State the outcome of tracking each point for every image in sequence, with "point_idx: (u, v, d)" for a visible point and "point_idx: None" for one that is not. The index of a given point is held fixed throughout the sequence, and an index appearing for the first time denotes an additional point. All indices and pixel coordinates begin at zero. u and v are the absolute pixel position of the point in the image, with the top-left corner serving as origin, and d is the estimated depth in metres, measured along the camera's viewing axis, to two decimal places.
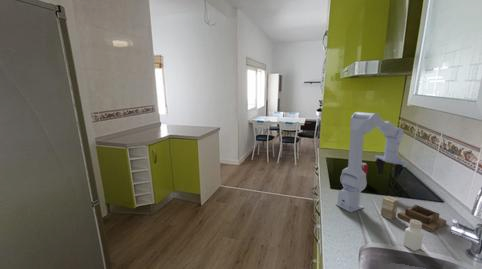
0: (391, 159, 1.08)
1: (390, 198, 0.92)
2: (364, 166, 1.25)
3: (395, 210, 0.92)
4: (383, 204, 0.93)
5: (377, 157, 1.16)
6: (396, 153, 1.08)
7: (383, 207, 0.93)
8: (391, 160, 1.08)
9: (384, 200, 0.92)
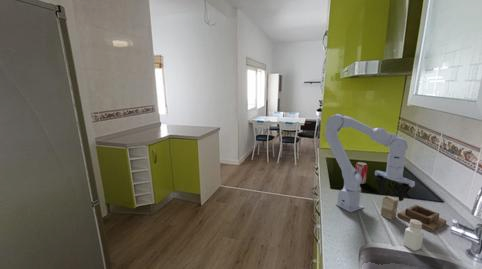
0: (395, 177, 0.88)
1: (390, 198, 0.93)
2: (364, 166, 1.25)
3: (395, 210, 0.92)
4: (383, 204, 0.93)
5: (378, 173, 0.95)
6: (401, 169, 0.87)
7: (383, 207, 0.93)
8: (395, 178, 0.88)
9: (384, 200, 0.92)
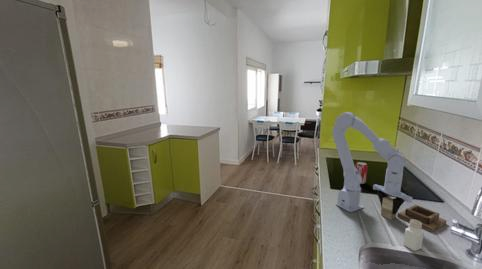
0: (393, 193, 0.89)
1: (390, 198, 0.92)
2: (364, 166, 1.25)
3: None
4: (383, 204, 0.93)
5: (376, 187, 0.96)
6: (399, 185, 0.88)
7: (383, 207, 0.93)
8: (393, 193, 0.89)
9: (384, 200, 0.92)
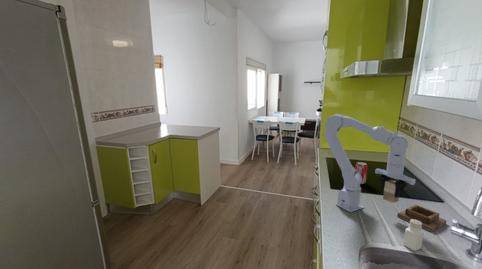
0: (395, 175, 0.87)
1: (392, 181, 0.91)
2: (364, 166, 1.25)
3: None
4: (385, 188, 0.92)
5: (378, 171, 0.95)
6: (401, 167, 0.87)
7: (386, 191, 0.92)
8: (395, 176, 0.87)
9: (386, 183, 0.91)
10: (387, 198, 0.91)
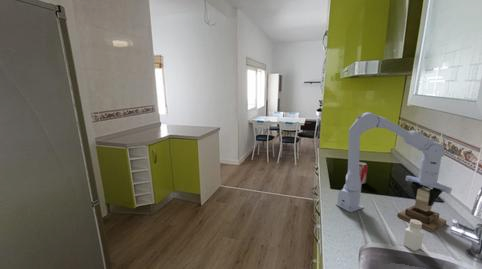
0: (430, 183, 0.85)
1: (425, 189, 0.89)
2: (364, 166, 1.25)
3: None
4: (418, 196, 0.89)
5: (409, 178, 0.92)
6: (436, 175, 0.84)
7: (418, 199, 0.89)
8: (430, 184, 0.85)
9: (419, 191, 0.89)
10: (420, 206, 0.89)
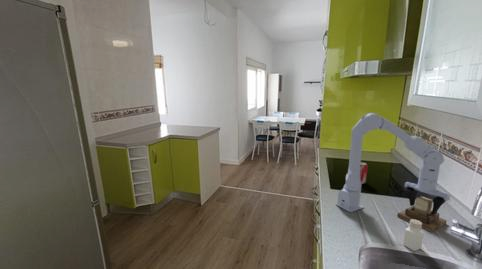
0: (428, 190, 0.85)
1: (424, 198, 0.89)
2: (364, 166, 1.25)
3: (429, 211, 0.88)
4: (416, 204, 0.90)
5: (408, 185, 0.93)
6: (435, 182, 0.85)
7: (417, 208, 0.90)
8: (428, 191, 0.85)
9: (418, 200, 0.89)
10: None
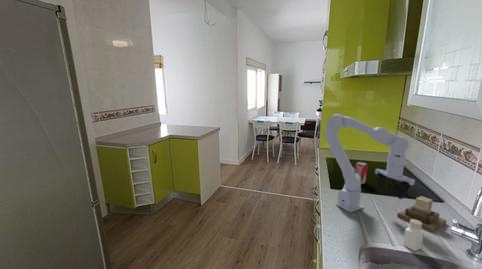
0: (395, 175, 0.89)
1: (424, 198, 0.89)
2: (364, 166, 1.25)
3: (429, 211, 0.88)
4: (416, 204, 0.90)
5: (378, 171, 0.96)
6: (401, 168, 0.88)
7: (417, 208, 0.90)
8: (395, 176, 0.89)
9: (418, 200, 0.89)
10: None
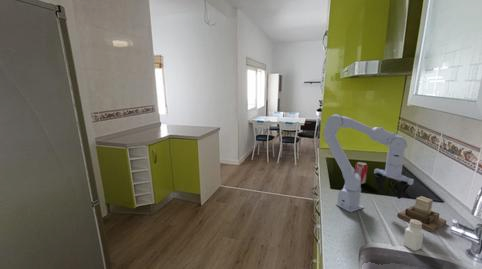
0: (394, 175, 0.89)
1: (424, 198, 0.89)
2: (364, 166, 1.25)
3: (429, 211, 0.88)
4: (416, 204, 0.90)
5: (377, 171, 0.96)
6: (400, 167, 0.88)
7: (417, 208, 0.90)
8: (394, 176, 0.89)
9: (418, 200, 0.89)
10: None
